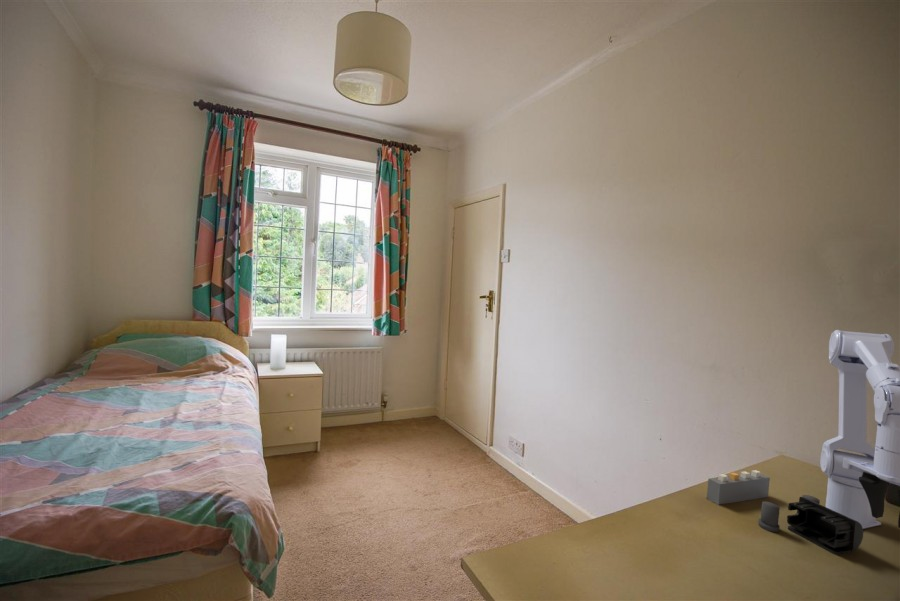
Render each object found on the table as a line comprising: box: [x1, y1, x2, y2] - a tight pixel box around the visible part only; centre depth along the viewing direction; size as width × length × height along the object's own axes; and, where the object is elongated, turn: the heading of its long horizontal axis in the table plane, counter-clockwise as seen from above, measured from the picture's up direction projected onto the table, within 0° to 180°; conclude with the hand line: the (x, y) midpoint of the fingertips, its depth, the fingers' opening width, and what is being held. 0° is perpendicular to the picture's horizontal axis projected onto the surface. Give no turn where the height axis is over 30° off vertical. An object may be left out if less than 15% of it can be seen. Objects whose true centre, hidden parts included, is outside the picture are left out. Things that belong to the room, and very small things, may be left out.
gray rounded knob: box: [757, 500, 781, 533], centre depth 89 cm, size 4×4×5 cm
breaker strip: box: [706, 469, 771, 505], centre depth 102 cm, size 18×3×6 cm, turn 110°
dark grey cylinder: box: [801, 494, 821, 504], centre depth 93 cm, size 4×4×5 cm
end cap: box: [786, 496, 864, 556], centre depth 85 cm, size 10×7×7 cm
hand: (890, 522), depth 76 cm, fingers open, 3 cm apart
